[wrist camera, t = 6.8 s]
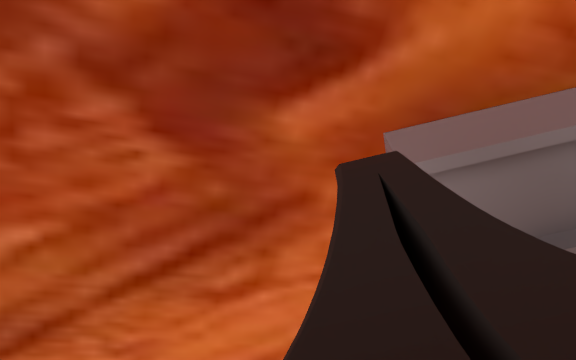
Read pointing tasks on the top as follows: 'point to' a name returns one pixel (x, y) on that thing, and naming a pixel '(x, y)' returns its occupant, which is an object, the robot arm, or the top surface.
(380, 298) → the robot arm
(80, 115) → the top surface
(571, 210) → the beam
